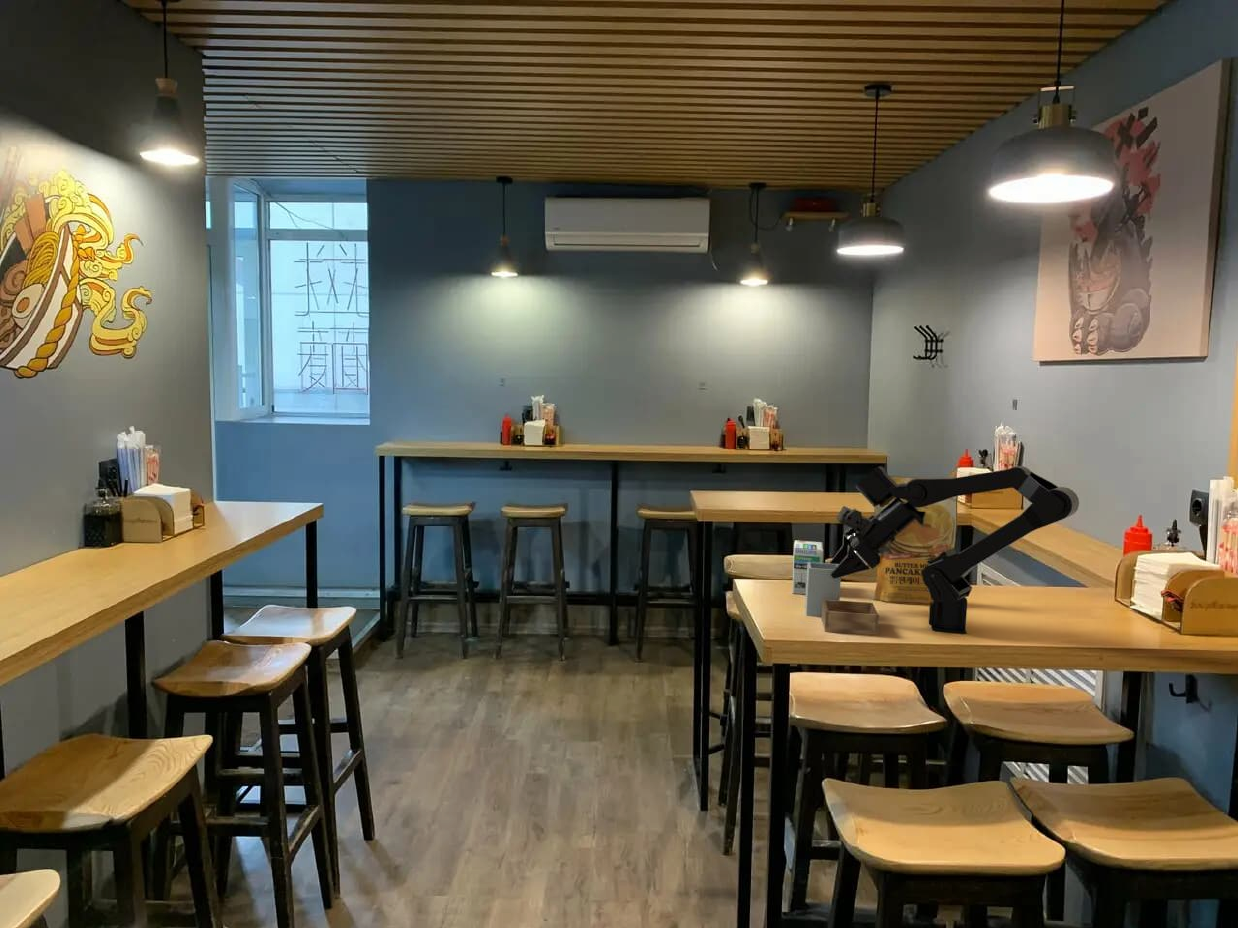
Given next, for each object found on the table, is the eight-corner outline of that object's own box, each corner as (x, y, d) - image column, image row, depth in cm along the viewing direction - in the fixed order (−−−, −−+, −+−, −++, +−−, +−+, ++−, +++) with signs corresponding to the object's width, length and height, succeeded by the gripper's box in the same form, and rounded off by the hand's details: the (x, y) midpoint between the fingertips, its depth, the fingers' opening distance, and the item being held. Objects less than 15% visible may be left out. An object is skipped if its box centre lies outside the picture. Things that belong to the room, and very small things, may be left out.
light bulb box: (821, 596, 203) (824, 549, 202) (791, 594, 205) (793, 547, 204) (820, 586, 214) (823, 541, 213) (792, 583, 215) (794, 539, 214)
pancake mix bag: (863, 594, 206) (870, 473, 203) (949, 599, 204) (957, 477, 201) (868, 602, 199) (876, 477, 197) (957, 607, 197) (966, 481, 195)
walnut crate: (871, 621, 183) (872, 602, 182) (877, 635, 173) (878, 615, 172) (821, 618, 184) (822, 599, 184) (824, 631, 174) (825, 611, 174)
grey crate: (836, 610, 191) (838, 564, 190) (838, 618, 185) (841, 570, 184) (805, 607, 192) (807, 562, 191) (806, 615, 186) (809, 568, 185)
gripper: (857, 489, 194) (802, 535, 197) (866, 500, 176) (806, 551, 179) (892, 527, 194) (837, 573, 197) (905, 542, 176) (844, 593, 179)
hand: (830, 572), depth 188 cm, fingers open, 9 cm apart
